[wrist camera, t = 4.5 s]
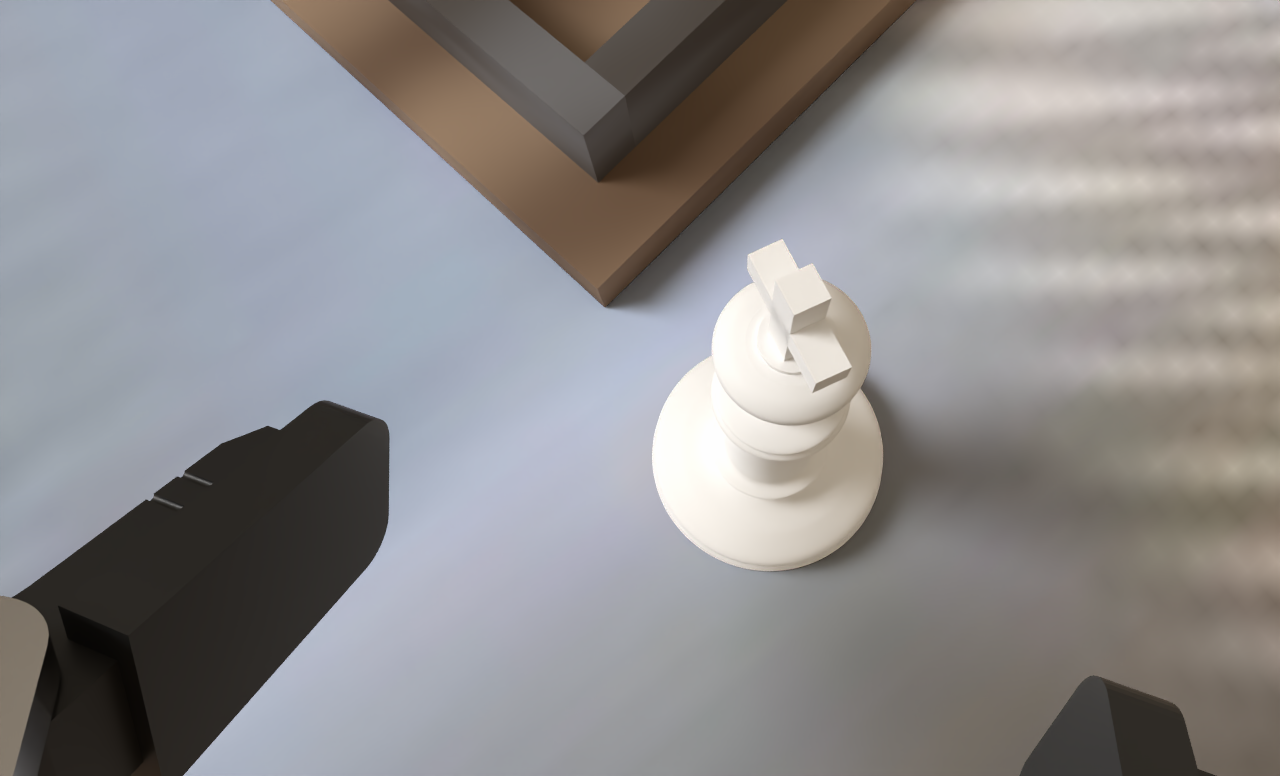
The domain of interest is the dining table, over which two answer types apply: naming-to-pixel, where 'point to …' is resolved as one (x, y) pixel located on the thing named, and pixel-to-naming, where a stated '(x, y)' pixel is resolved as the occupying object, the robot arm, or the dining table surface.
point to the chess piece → (773, 424)
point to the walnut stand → (597, 102)
